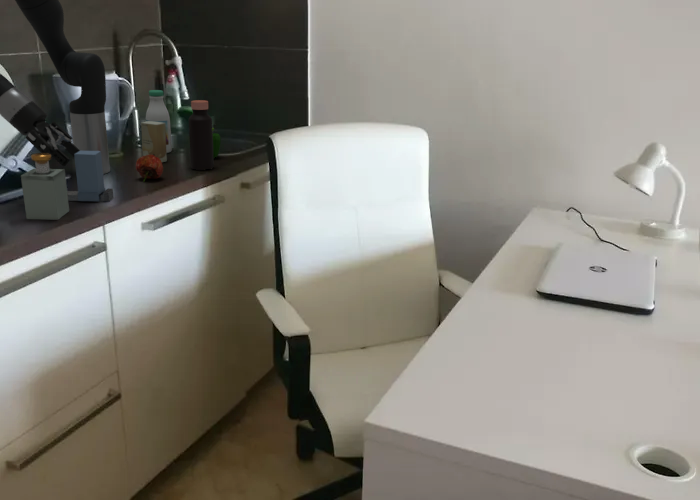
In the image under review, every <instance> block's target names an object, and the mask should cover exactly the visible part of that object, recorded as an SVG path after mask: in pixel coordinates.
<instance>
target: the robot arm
mask: <svg viewBox="0 0 700 500" xmlns="http://www.w3.org/2000/svg"><path fill="white" fill-rule="evenodd" d="M14 1H15V3H16V4H17V6H18V8H19V9H20V11H21V12H22V14H23V15H24V17H25V18H26V20H27V21H28V22H29V24H30V26H31V27H32V29H33V30H34V31H35V34H36V35H37V37H38V38H39V41H40V42H41V43H42V45H43V47H44V48H45V51H46V52H47V54H48V56H49V58H50V60H51V62H52V64H53V65H54V68H55V69H56V72H57V73H58V76H59V77H60V78H61V79H62V81H63V82H64V84H67V85H69V86H71V87H76V88H77V87H78V88H80V96H79V97H78V98H76V99H73V100H71V101H70V102H69V103H68V106H69V116H70V117H69V118H70V125H71V134H72V135H70V133H68V132H67V131H65V130H64V128H62V127H61V126H60V125H59V124H58V123H56V122H55V121H52V122H51V123H48V122H46V118H47V113H46V111H44V110H43V109H42V108H41V107H40V106H39V105H38V104H37V103H36V102H34V100H32V99H31V98H30V97H29V96H28V95H27V94H25V92H23V91H22V90H20V89H19V88H18V87H16V86H15V84H13V83H12V82H11V81H10V80H9V79H8V78H7V77H5V75H3V74H1V73H0V116H1V117H2V118H3V119H4V120H5V121H7V123H9V124H10V125H11V126H12V127H13V128H14V129H15V130H17V131H18V132H19V134H21V135H23V136H24V137H25V139H26V140H27V141H28V142H29V143H30V144H31V145H32V146H33V147H34V148H36V149H37V150H38V151H39V153H49V154H51V158H52V157H53V159H55V161H57V162H58V163H59V164H60V165H61V166H63V167H66V166H68V164H69V163H70V162H71V159H70V157H68V156H67V155H66V154H65V153H64V152H63V151H62V150H61V149H59V148H58V146H60V147H61V148H63V149H65V151H67V153H69V155H71V157H73V158H74V159H75V157H74V154H75V153H77V152H79V151H101V157H102V168H103V175H105V174H107V173H110V171H111V166H110V155H109V153H110V152H109V146H108V145H109V144H108V134H107V132H108V131H107V123H106V121H107V120H106V112H105V111H106V110H105V109H106V108H105V106H106V101H107V85H106V84H107V79H106V69H105V65H104V62H103V59H102V58H101V57H100V56H99V55H98V54H95V53H90V52H76V50H74V48H73V47H72V46H71V45H70V43H69V41H68V39H67V38H66V35H65V31H64V27H65V26H64V22H65V21H64V20H65V19H64V15H65V14H64V9H63V6H62V4H61V2H60V0H14Z"/></svg>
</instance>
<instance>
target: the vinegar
mask: <svg viewBox="0 0 700 500" xmlns="http://www.w3.org/2000/svg"><path fill="white" fill-rule="evenodd" d="M190 107H191V108H190V109H191V111H192V114H191V115H190V116H189V118H188V134H189V135H188V136H189V152H190V153H189V155H190V156H189V158H190V168H191V169H192V170H193V169H196V170H195V171H200V170H204V169H211V168H213V167H214V166H215V162H214V159H215V158H213V131H214V130H213V131H212V128H213V118H212V117H211V116H210V114H208V111H209V101H208V100H204V99H203V100H202V99H200V100H199V99H197V100H191V101H190ZM213 169H214V168H213ZM211 170H212V169H211ZM204 171H205V170H204Z"/></svg>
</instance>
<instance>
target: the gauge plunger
mask: <svg viewBox="0 0 700 500" xmlns="http://www.w3.org/2000/svg"><path fill="white" fill-rule="evenodd" d="M30 156H31V161H34V163H35V164H34V165H35V169H36V173H37V174H44V175H49V174H50V169H51V168H50V162H49V161H50V160H52V155H51V154H49V153H41V152H37V153H33V154H31V155H30Z"/></svg>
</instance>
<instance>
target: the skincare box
mask: <svg viewBox="0 0 700 500" xmlns="http://www.w3.org/2000/svg"><path fill="white" fill-rule="evenodd" d="M140 128H141V146H142V147H141V148H142V149H141V150H142V156H145V155H149V154H150V155H153V154H155V157H158V158H159V159H160V160H161V162H162V163H164V162H168V161H167V160H168V157H167V156H168V155H167V154H168V153H166V125H165V123H162V122H155V121H146V120H145V121H141V122H140Z"/></svg>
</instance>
